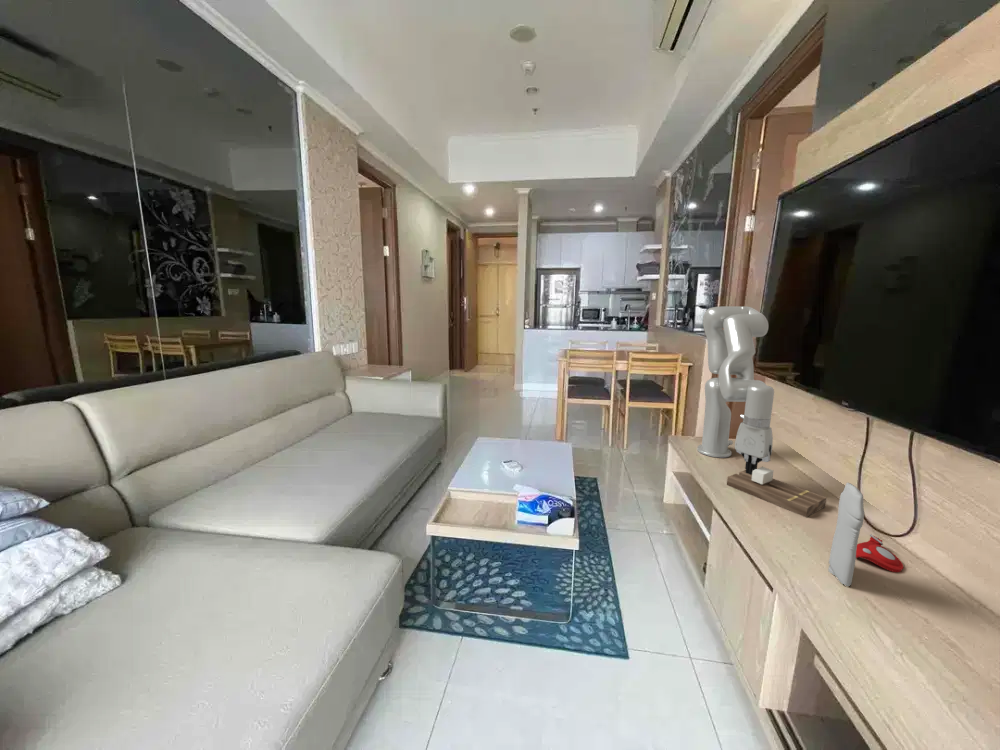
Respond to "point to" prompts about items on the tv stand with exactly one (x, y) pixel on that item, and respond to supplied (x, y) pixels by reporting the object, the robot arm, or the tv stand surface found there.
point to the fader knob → (762, 475)
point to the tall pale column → (846, 534)
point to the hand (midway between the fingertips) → (750, 472)
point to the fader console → (779, 494)
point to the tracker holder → (878, 554)
